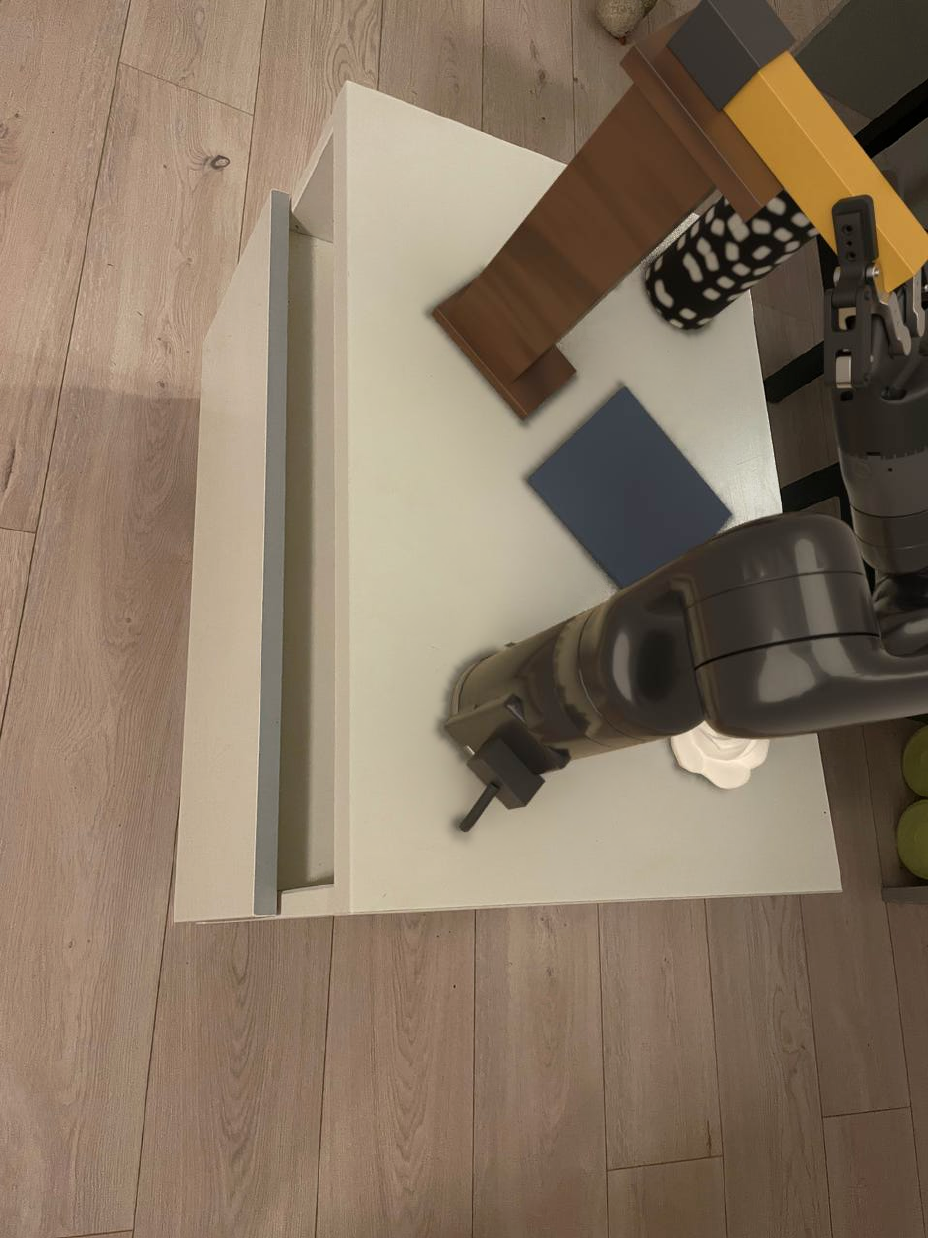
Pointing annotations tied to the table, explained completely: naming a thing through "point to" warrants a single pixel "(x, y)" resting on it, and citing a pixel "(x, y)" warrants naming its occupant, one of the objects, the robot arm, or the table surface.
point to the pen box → (793, 124)
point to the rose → (719, 755)
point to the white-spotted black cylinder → (724, 258)
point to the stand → (603, 222)
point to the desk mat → (628, 492)
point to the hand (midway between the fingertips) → (865, 185)
